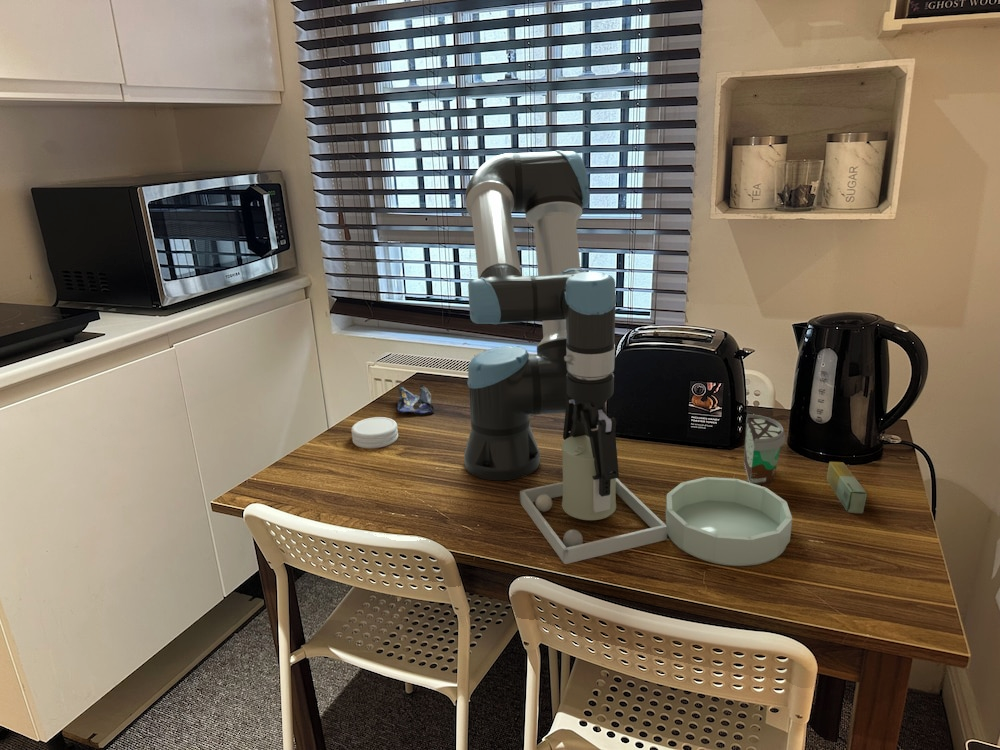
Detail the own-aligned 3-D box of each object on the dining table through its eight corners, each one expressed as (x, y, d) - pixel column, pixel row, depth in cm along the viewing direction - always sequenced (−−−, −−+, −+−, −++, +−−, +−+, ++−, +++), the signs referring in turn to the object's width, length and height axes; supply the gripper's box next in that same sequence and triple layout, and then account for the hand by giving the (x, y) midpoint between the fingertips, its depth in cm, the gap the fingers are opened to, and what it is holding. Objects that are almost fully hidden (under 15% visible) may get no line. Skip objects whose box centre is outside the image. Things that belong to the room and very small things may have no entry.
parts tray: (520, 502, 127) (519, 490, 126) (610, 483, 132) (610, 472, 132) (564, 564, 109) (564, 550, 109) (666, 539, 115) (667, 526, 114)
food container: (786, 492, 127) (792, 441, 124) (750, 490, 128) (755, 440, 125) (775, 461, 138) (780, 414, 135) (742, 459, 140) (746, 412, 136)
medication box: (864, 514, 120) (868, 493, 118) (847, 513, 120) (851, 493, 118) (840, 480, 131) (843, 460, 129) (825, 479, 131) (828, 460, 130)
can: (550, 507, 120) (549, 445, 116) (583, 486, 127) (583, 425, 122) (595, 527, 115) (596, 461, 110) (626, 503, 121) (628, 440, 116)
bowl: (644, 514, 122) (645, 490, 120) (738, 493, 127) (740, 469, 126) (708, 577, 105) (710, 550, 103) (814, 550, 110) (817, 523, 109)
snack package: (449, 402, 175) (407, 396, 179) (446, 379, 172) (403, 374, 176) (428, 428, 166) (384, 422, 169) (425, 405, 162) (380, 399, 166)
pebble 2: (559, 545, 114) (559, 528, 113) (578, 540, 115) (577, 523, 114) (567, 555, 111) (567, 538, 110) (586, 551, 112) (586, 534, 111)
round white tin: (345, 439, 157) (343, 424, 156) (385, 426, 162) (383, 412, 161) (365, 454, 149) (363, 439, 148) (406, 440, 155) (405, 425, 153)
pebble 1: (532, 508, 125) (532, 493, 124) (548, 504, 126) (548, 489, 125) (539, 516, 123) (538, 501, 122) (555, 512, 124) (554, 497, 123)
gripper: (542, 354, 120) (544, 470, 128) (598, 400, 101) (597, 534, 109) (582, 347, 122) (582, 462, 131) (645, 392, 103) (640, 524, 111)
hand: (589, 495), depth 120 cm, fingers closed on can, 9 cm apart
